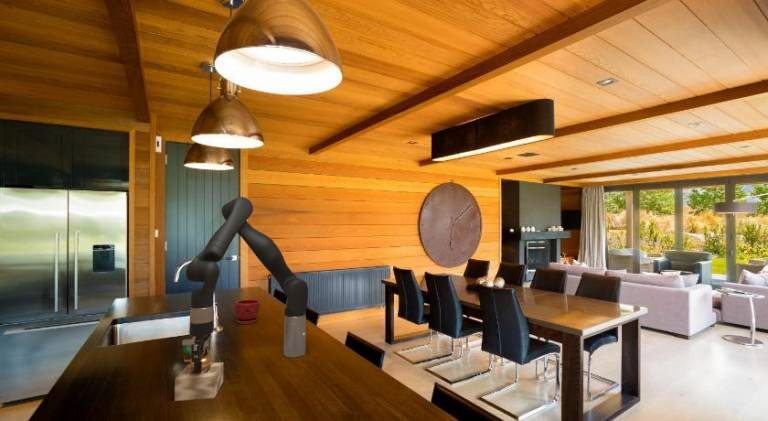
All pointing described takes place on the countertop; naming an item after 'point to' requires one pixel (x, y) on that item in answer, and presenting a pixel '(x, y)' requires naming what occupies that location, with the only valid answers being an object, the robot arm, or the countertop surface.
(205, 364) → the copper pin
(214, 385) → the birch block
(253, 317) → the plant pot
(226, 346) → the countertop surface
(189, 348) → the food container
